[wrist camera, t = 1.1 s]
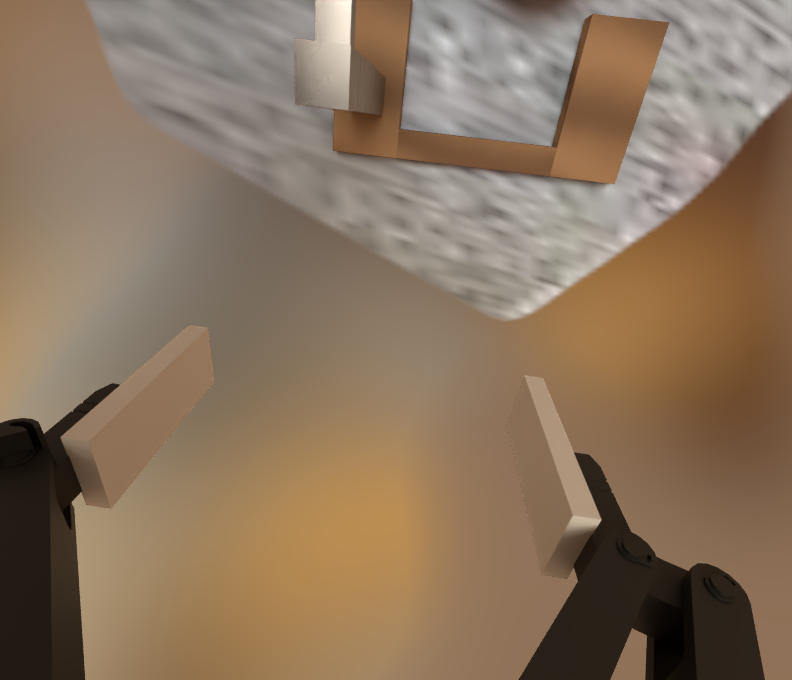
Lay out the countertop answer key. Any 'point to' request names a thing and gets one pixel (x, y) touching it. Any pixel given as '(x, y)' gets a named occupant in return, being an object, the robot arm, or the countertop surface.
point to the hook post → (336, 64)
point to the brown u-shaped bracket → (567, 158)
